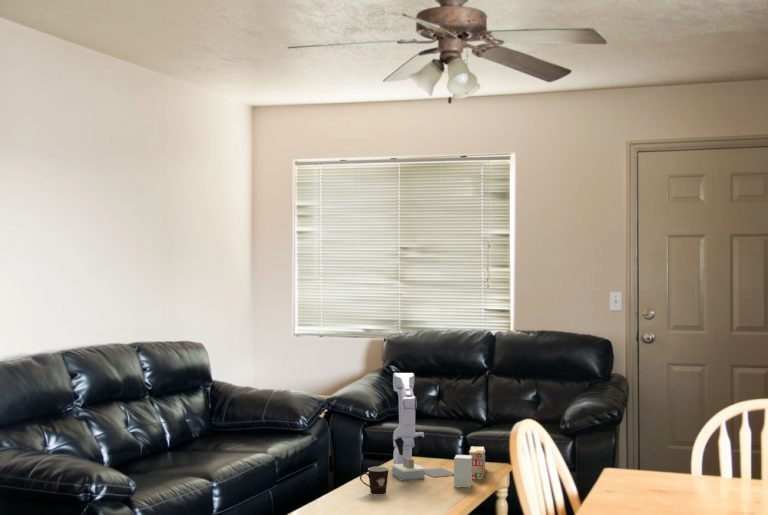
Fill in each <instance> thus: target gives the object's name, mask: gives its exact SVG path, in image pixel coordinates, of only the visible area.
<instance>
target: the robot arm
mask: <svg viewBox="0 0 768 515" xmlns="http://www.w3.org/2000/svg"><path fill="white" fill-rule="evenodd" d="M392 385H393V388H392V389H393V391H394V392H396V393H397V396H398V422H399V426H398V427H396V428H395V429H394V431H393V434H392V440H393V441H392V442H393V448H394V449H393V457H392V458H393V459H392V461H393V463H392V464H391V466H392V465H394V464H403V458H404V457H409V458H411V459H412V454H413V448H414V454H416V455H417V454H419V450H420V447H421V444H422V443H423V440H424V437H425V433H424V432H423V431H418V432H417V431H416V410H417V404H418V402H417V397H416V396H415V395H414V385H415V373H413V372H394V373H393V375H392Z"/></svg>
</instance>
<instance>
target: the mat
mask: <svg viewBox="0 0 768 515" xmlns="http://www.w3.org/2000/svg"><path fill="white" fill-rule="evenodd" d="M424 475H427V476H428V477H431V478H433V477H435V478H442V477H441V476H444V477H449V476H448V475H454V472H452V471H450V470H448V469H446V468H443V467H440V468H439V467H438V468H431V469H425V470H424Z"/></svg>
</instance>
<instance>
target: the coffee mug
mask: <svg viewBox="0 0 768 515" xmlns="http://www.w3.org/2000/svg"><path fill="white" fill-rule="evenodd" d="M389 470H390V469H389V467H386V466H372V467H368V468H367V471H368V473H367V472H363V473H361V474H360V476H359V479H360V481H361V483H362V484H364V485H365V486H366V487H369V490H370V494H371V493H372V494H371V495H374V494H383V495H385V494H384V493H386V494H387V486H388V478H389ZM364 475H366V476H367V477H368V478H369V480H368V481H369V482H368V483H369V484H368V483H366V482H365V481H363V479H362V477H363V476H364Z"/></svg>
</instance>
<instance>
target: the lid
mask: <svg viewBox="0 0 768 515" xmlns="http://www.w3.org/2000/svg"><path fill="white" fill-rule="evenodd" d="M391 467H392V468H393V467H394V468H396V469H398V470H400V471H402V472H413V471H423V470H426V467H423V466H421V465H419V464H416V463H415V460H414V458H413V459H411V458H409V457H404V458H403V464H394V465H392V464H391Z"/></svg>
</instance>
